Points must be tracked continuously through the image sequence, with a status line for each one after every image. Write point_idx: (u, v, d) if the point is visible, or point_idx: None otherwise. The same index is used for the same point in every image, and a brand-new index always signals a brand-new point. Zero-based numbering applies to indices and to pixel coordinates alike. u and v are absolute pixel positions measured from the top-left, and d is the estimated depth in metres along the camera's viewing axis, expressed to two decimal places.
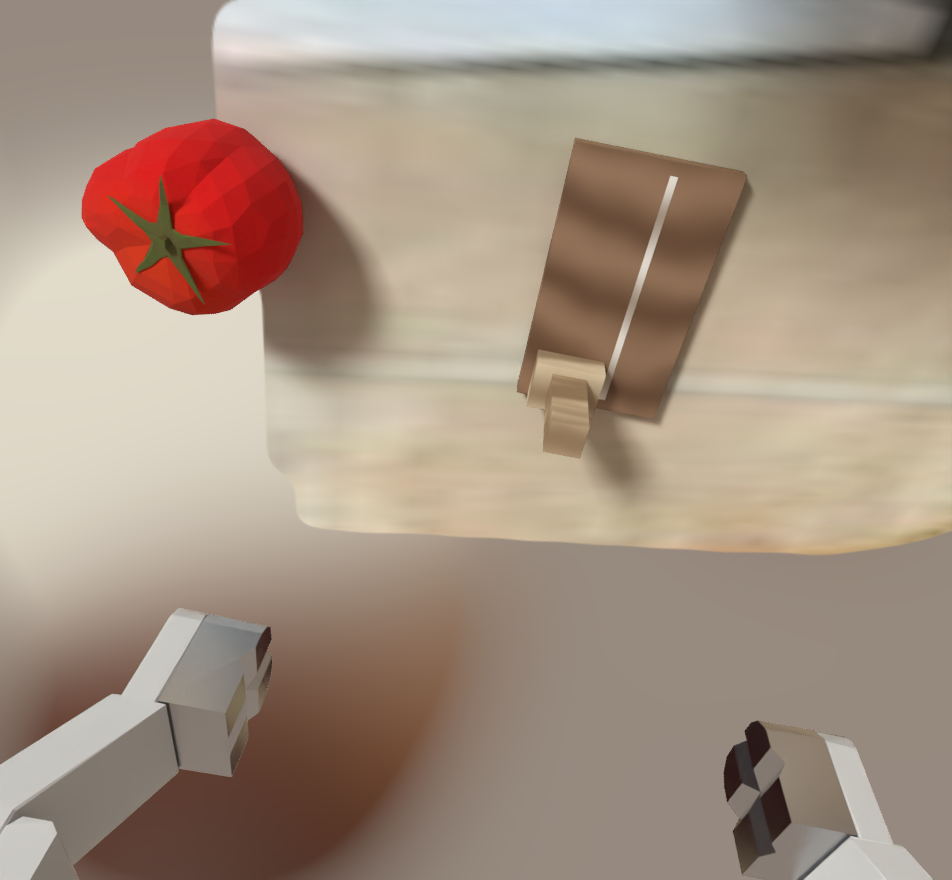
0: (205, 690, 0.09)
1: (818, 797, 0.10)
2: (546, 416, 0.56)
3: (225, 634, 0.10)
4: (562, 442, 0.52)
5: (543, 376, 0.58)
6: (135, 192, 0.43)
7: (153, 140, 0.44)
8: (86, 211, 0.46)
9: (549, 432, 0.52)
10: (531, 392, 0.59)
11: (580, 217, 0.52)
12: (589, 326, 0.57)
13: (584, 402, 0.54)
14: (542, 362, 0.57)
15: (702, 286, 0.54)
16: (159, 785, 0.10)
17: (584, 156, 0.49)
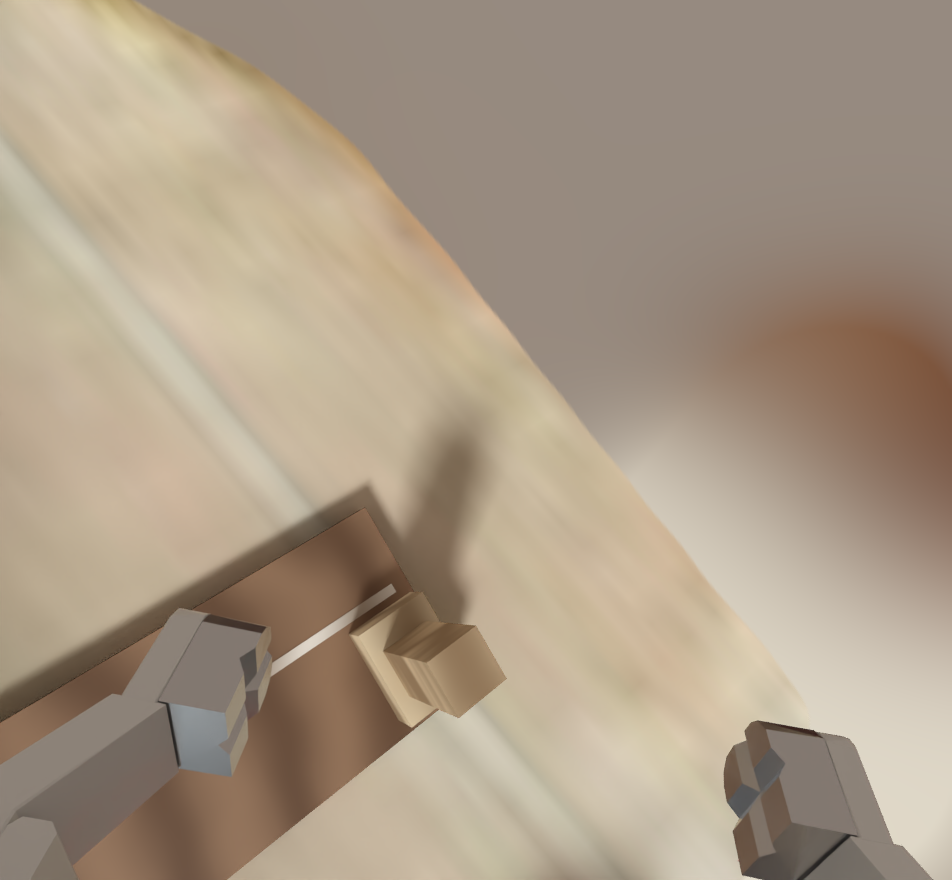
0: (205, 690, 0.09)
1: (818, 797, 0.10)
2: None
3: (225, 634, 0.10)
4: (473, 671, 0.32)
5: (422, 701, 0.38)
6: None
7: None
8: None
9: (475, 701, 0.31)
10: None
11: (201, 858, 0.34)
12: (321, 698, 0.38)
13: (405, 661, 0.34)
14: (406, 720, 0.38)
15: (158, 633, 0.36)
16: (159, 785, 0.10)
17: None
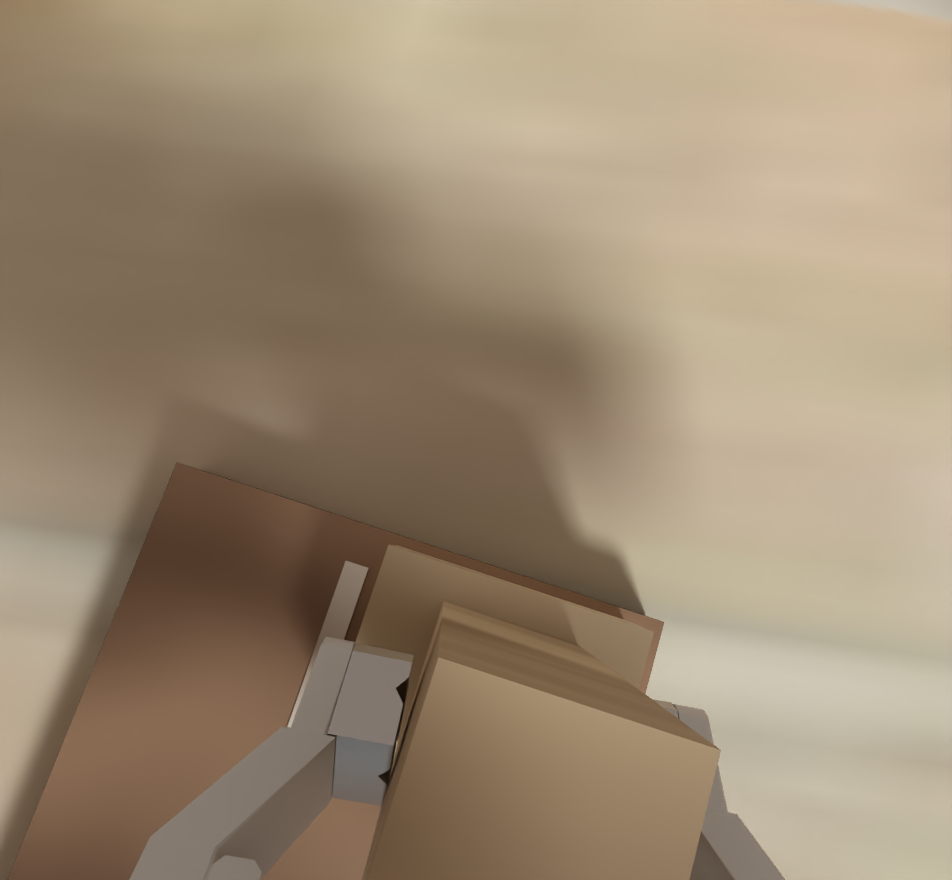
0: (370, 722, 0.09)
1: None
2: None
3: (377, 664, 0.10)
4: (563, 837, 0.06)
5: None
6: None
7: None
8: None
9: None
10: None
11: None
12: None
13: None
14: None
15: None
16: (316, 815, 0.10)
17: None
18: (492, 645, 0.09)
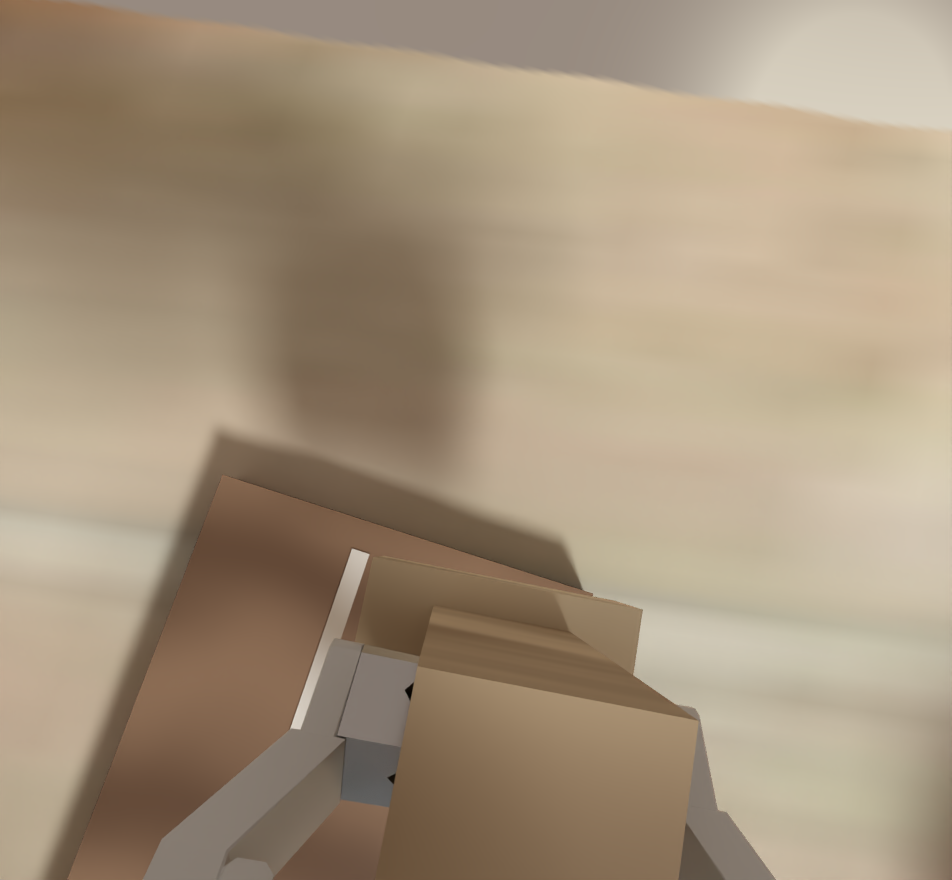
0: (379, 724, 0.09)
1: None
2: None
3: (386, 665, 0.10)
4: (557, 823, 0.07)
5: None
6: None
7: None
8: None
9: None
10: None
11: None
12: None
13: None
14: None
15: None
16: (325, 817, 0.10)
17: None
18: (477, 645, 0.09)
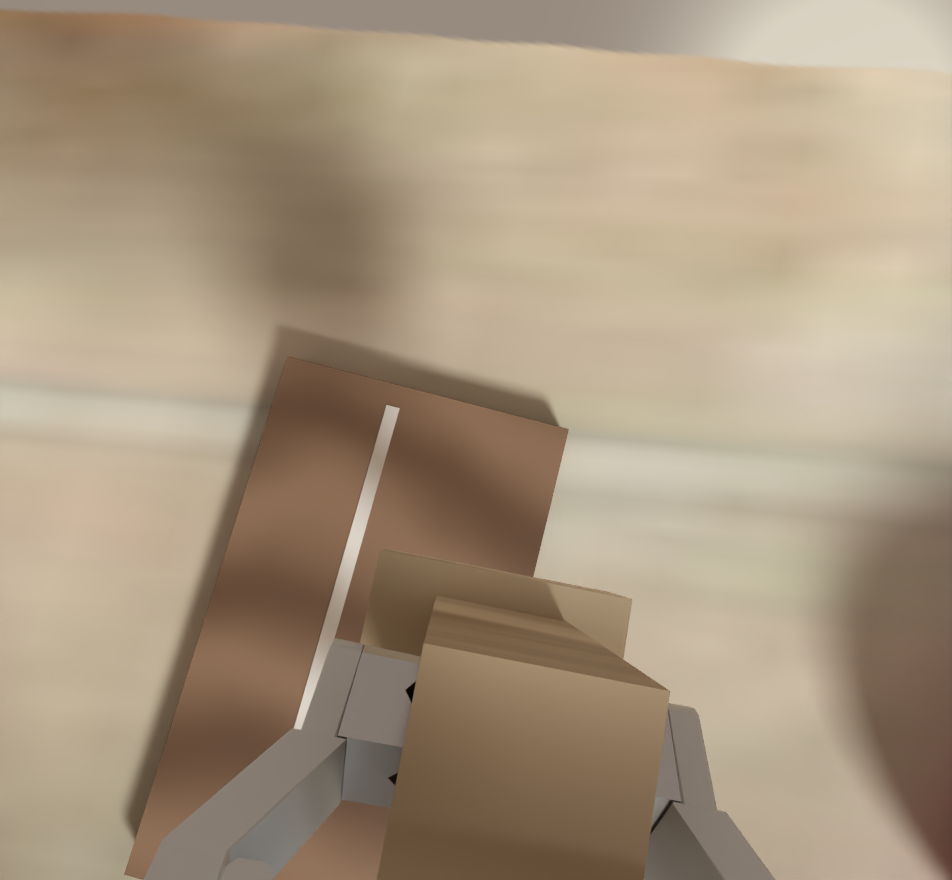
0: (380, 724, 0.09)
1: None
2: None
3: (386, 665, 0.10)
4: (545, 780, 0.08)
5: None
6: None
7: None
8: None
9: (638, 860, 0.08)
10: None
11: None
12: None
13: None
14: None
15: (197, 654, 0.28)
16: (325, 817, 0.10)
17: None
18: (476, 629, 0.10)
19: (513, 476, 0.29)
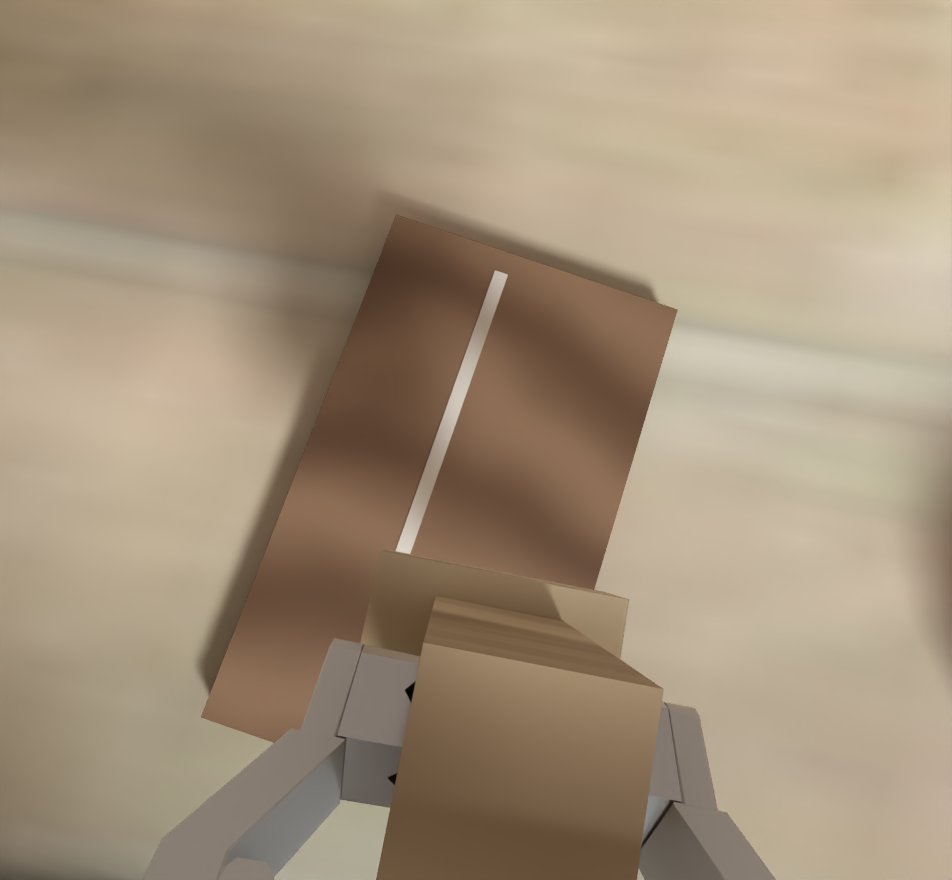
0: (379, 724, 0.09)
1: None
2: None
3: (386, 665, 0.10)
4: (542, 775, 0.08)
5: None
6: None
7: None
8: None
9: (632, 853, 0.08)
10: None
11: None
12: (517, 441, 0.28)
13: None
14: None
15: (289, 501, 0.27)
16: (325, 817, 0.10)
17: None
18: (475, 628, 0.10)
19: (620, 351, 0.28)
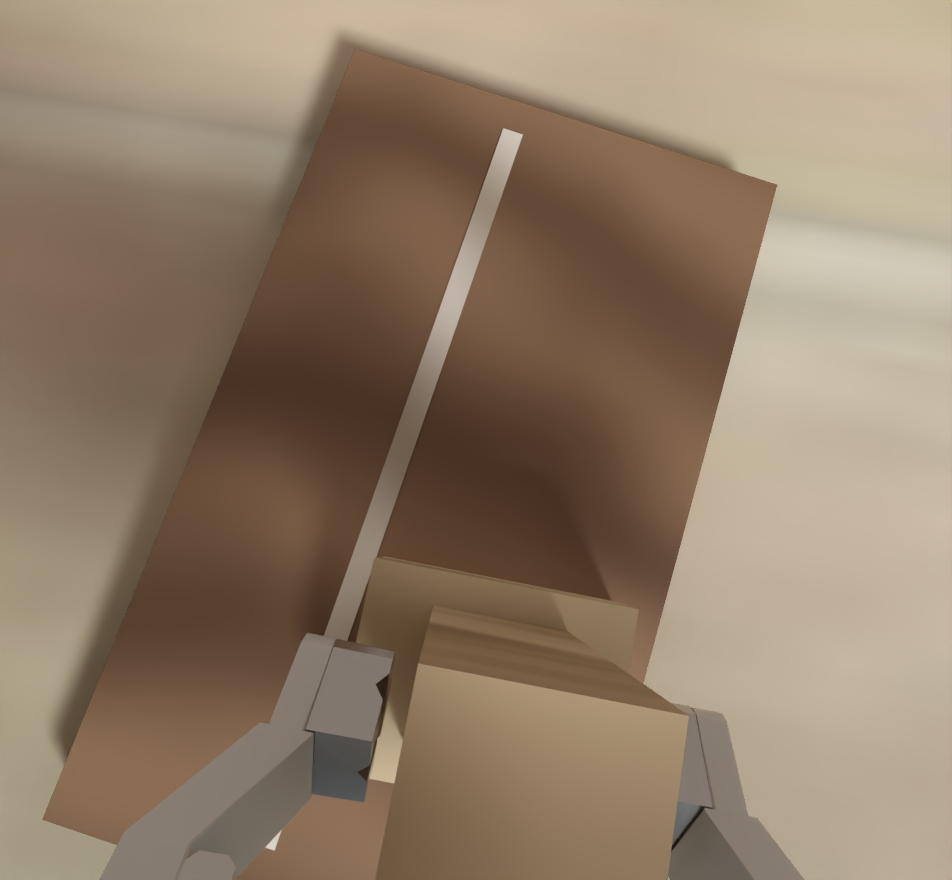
0: (349, 718, 0.09)
1: None
2: None
3: (358, 660, 0.10)
4: (552, 815, 0.07)
5: None
6: None
7: None
8: None
9: None
10: None
11: None
12: (540, 381, 0.18)
13: None
14: None
15: (189, 475, 0.17)
16: (296, 811, 0.10)
17: None
18: (476, 644, 0.10)
19: (693, 246, 0.19)
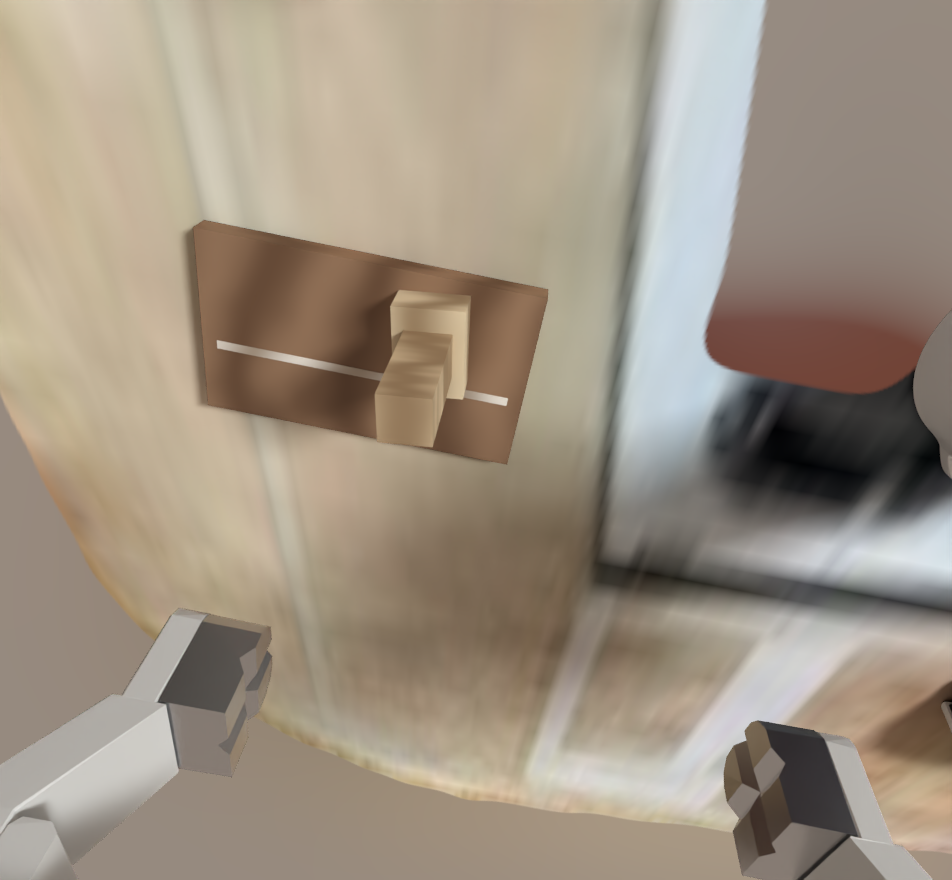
0: (205, 690, 0.09)
1: (818, 797, 0.10)
2: (406, 360, 0.37)
3: (225, 634, 0.10)
4: (399, 417, 0.34)
5: (444, 323, 0.39)
6: None
7: None
8: None
9: (411, 398, 0.34)
10: (415, 310, 0.39)
11: None
12: (318, 324, 0.43)
13: (442, 405, 0.38)
14: (466, 317, 0.39)
15: None
16: (159, 785, 0.10)
17: (530, 309, 0.41)
18: None
19: (237, 265, 0.41)
